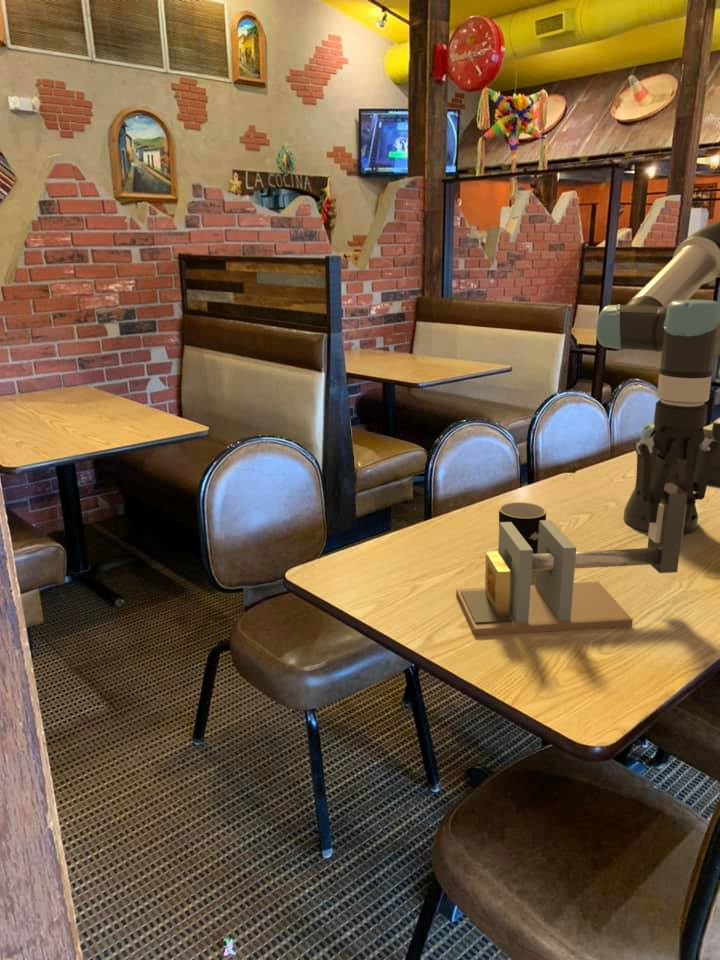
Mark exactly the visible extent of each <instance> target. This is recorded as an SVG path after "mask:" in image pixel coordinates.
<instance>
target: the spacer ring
mask: <svg viewBox="0 0 720 960" xmlns="http://www.w3.org/2000/svg"><path fill="white" fill-rule="evenodd" d="M510 572H511V571H510V570H509V568H508V567H507V565H506V564H505V562H504V561H503V559H502V558H501V556H500V554H499V553H498V550H495V551H485V575H484V576H485V577H484V580H485V585H484V588H485V595H486V597H487V598H488V600H489V602H490V604H491V606H492V608H493V609H494V611H495V613H496V615H497V616H509V609H510Z"/></svg>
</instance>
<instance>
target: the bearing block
mask: <svg viewBox="0 0 720 960" xmlns="http://www.w3.org/2000/svg"><path fill="white" fill-rule="evenodd" d="M497 549H498V550H497V551H498V553H499V554H500V556H501V558H502V559H503V561H504V562H505V564H506V565H507V567H508V568H509V570H510V571H511V572H510V609H509V616H497V615H496V613H495V611H494V609H493V608H492V606H491V604H490V602H489V600H488V598H487V597H486V595H485V587H474V588H473V587H472V588H458V589H457V588H455V589H456V590H455V595H456V598H457V599H458V600H457V601H458V602H459V604H460V607H461V609H462V611H463V613H464V615H465V617H466V619H467V622H468V624H469V626H470V629H471V630H472V633H473V635H474V636H489V635H490V636H492V635H505V634H506V635H508V634H510V635H511V634H524V633H537V632H538V633H541V632H555V631H557V632H559V631H574V630H575V631H576V630H592V629H606V628H609V629H610V628H623V627H626V628H627V627H633V621H634V620H633V618H632V617H631V616H630V615H629V614H628V613H627V611H625V609H624V608H623V607H622V606H621V605H620V604H619V602H617V600H616V599H615V598H614V597H613V596H612V595H611V594H610V592H608V591H607V589H606V588H605V587H604V586H603V585H602V584H601V583H600V582H599V581H586V582H585V581H584V582H574V580H575V572H576V571H575V559H576V552H577V546H576V545H575V544H573V542H572V541H571V540H570V539H569V538H568V537H567V535H565V534H564V533H563V531H561V529H560V528H559V527H558V526H557V525H556V524H555V522H553V521H552V520H551V519H546V520H540V521H539V535H538V551H537V554H540V553H553V555H554V563H553V570H539V571H535V581H534V582H535V584H532V572H533V571H532V555H533V549H532V548H531V547H530V546H529V544H528V543H527V542H526V540H525V539H524V538H523V537H522V535H521V534H520V533H519V531H518V530H517V529H516V528H515V526H514V525H513V524H512V522H500V525H499V524H498V548H497Z"/></svg>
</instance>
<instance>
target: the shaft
mask: <svg viewBox="0 0 720 960" xmlns="http://www.w3.org/2000/svg"><path fill="white" fill-rule="evenodd" d="M687 494H688V493H687V492H685V491H684V490H682V489H681V488H679V487H678V486H676V485H674V484H673V483H665V487H664V490H663V494H662V498H661V501H660V503H661V504H662V505H664V513H663V521H662V529H661V537H660V543H655V542H654V541H653V540H651V539H650V538H649V537H648V541H647V547H643V548H641V547H640V548H638V547H637V548H626V549H625V548H623V549H620V548H619V549H606V550H605V549H602V550H585V551H582V550H581V551H576V559H575V569H594V568H595V569H596V568H610V567H611V568H614V567H629V566H631V567H632V566H648V565H649V566H651V567H652V568H654V570H656V571H657V572H658V573H659V574H668V573H669V574H671V573H672V574H673V573H678V569H679V561H680V553H681V547H682V542H681V540H682V541H683V536H682V532H683V524H684V517H685V509H686V502H687ZM553 563H554V555H553V553H540V554H533V555H532V571H531V572H536V571H539V570H553Z"/></svg>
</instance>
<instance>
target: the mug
mask: <svg viewBox="0 0 720 960" xmlns="http://www.w3.org/2000/svg"><path fill="white" fill-rule="evenodd" d="M498 510H499V511H498V526H499V525H500V522H512V524H513V525H514V526H515V528H516V529H517V530H518V531H519V533H520V534H521V535H522V537H523V538H524V539H525V540H526V542H527V543H528V544H529V546H530V547H531V548H532V549H533V554H537V551H538V535H539V521H540V520H547V510H546V509H545V507H543V506H541V505H538V504H535V503H531V502H522V501H519V502H518V501H517V502H509V503H505V504H502V505H501V506H500V507H499V509H498Z"/></svg>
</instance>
